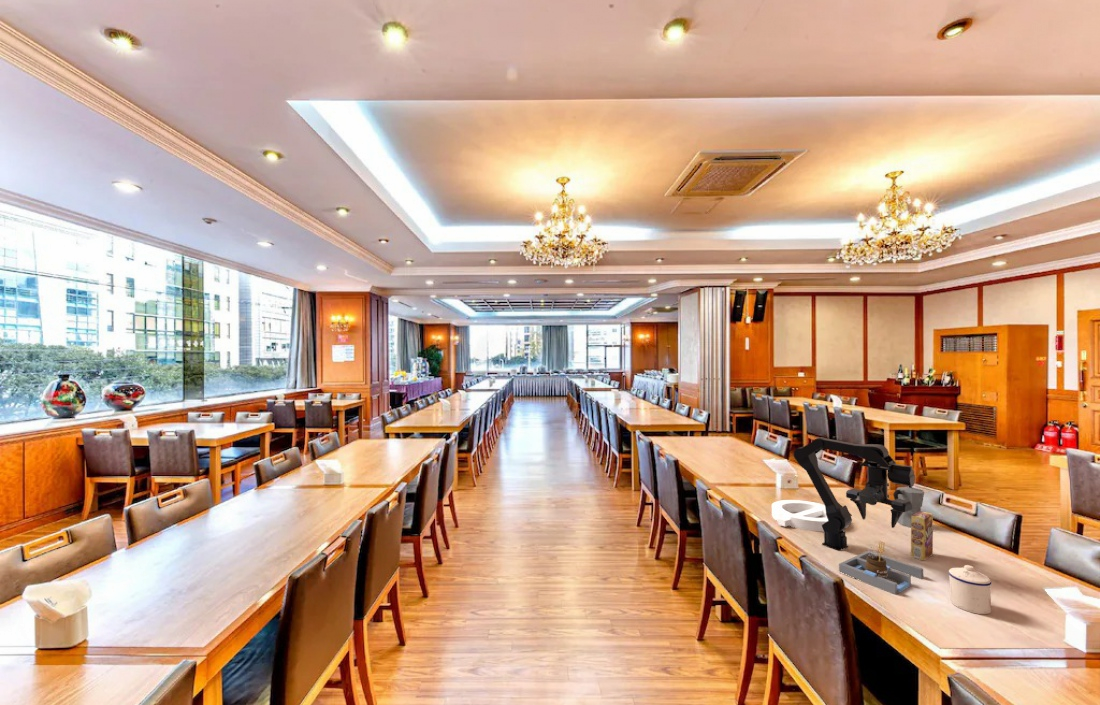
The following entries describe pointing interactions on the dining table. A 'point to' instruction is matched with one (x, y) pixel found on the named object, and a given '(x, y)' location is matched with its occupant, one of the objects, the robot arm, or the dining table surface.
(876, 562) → the utensil holder
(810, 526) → the ring with crossbar
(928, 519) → the candy box
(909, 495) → the coffeepot
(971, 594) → the teacup with lid
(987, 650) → the dining table surface
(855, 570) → the divider rack
